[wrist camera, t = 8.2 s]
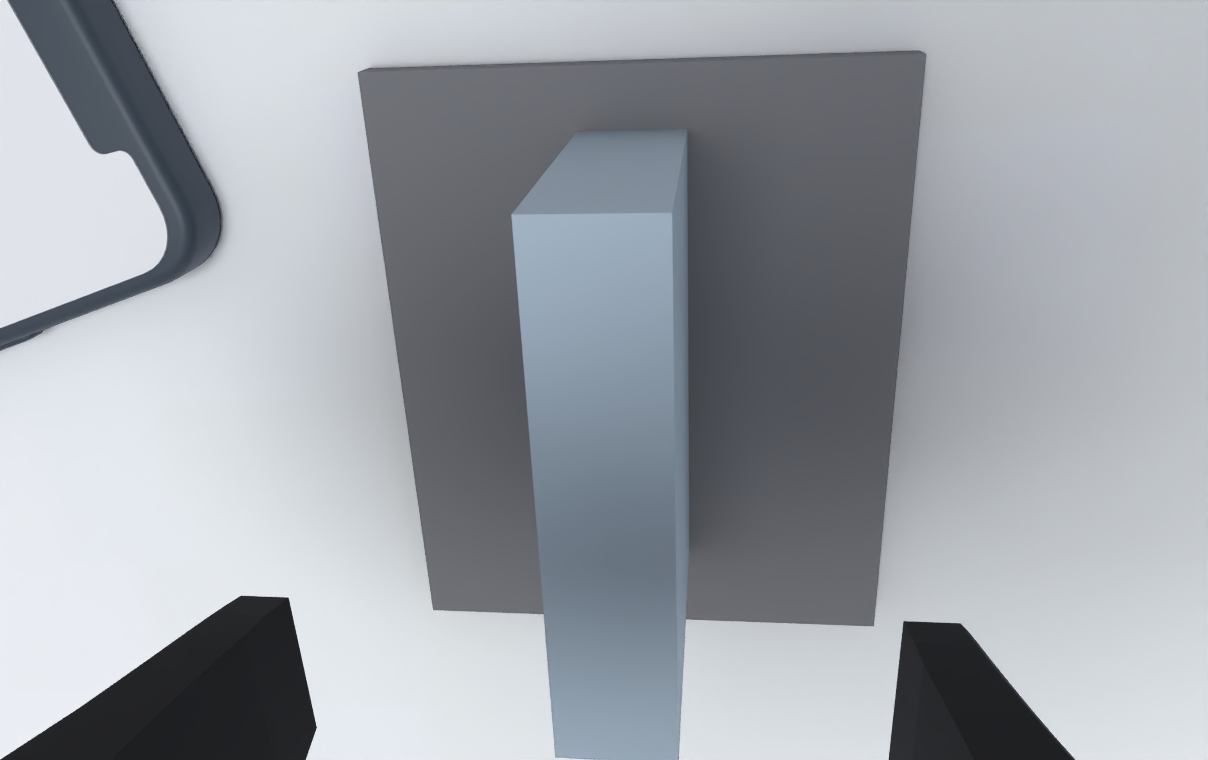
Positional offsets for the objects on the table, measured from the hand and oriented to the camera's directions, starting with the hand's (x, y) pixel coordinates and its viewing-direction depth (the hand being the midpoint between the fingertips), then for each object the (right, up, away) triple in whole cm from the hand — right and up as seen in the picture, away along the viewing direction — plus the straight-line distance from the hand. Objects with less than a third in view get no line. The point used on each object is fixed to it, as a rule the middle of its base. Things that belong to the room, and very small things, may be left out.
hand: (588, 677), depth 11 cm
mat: (+1, +4, +9) cm, 9 cm away
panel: (+1, +4, +8) cm, 9 cm away
